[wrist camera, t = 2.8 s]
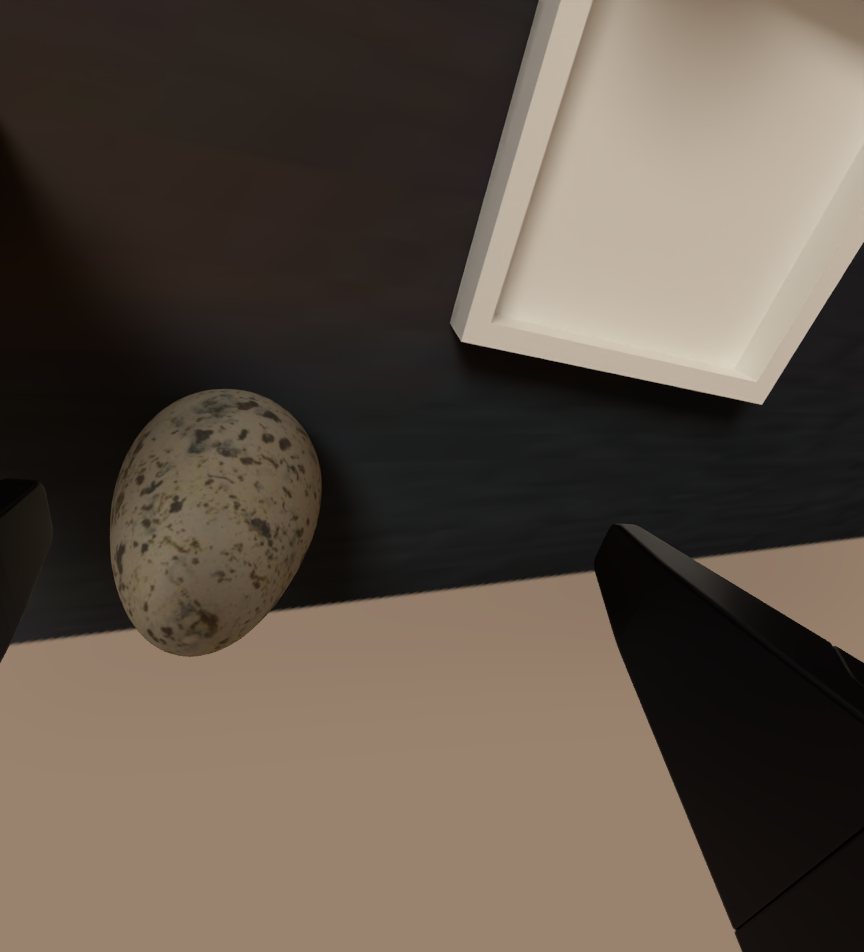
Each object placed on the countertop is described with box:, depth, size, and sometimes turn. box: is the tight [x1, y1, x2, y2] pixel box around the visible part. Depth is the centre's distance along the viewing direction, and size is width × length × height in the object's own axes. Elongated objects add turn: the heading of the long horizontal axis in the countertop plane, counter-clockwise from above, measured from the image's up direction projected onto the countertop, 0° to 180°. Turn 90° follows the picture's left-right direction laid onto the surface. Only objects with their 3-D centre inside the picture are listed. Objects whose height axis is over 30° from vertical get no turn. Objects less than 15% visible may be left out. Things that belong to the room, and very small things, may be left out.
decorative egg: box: [110, 389, 322, 657], centre depth 16 cm, size 6×6×10 cm
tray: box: [450, 0, 864, 405], centre depth 17 cm, size 13×13×2 cm
